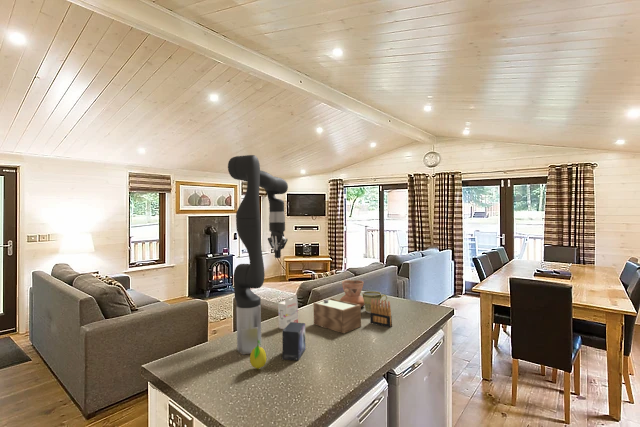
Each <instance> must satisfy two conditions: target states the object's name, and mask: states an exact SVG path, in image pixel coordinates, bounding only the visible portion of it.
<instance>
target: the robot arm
mask: <svg viewBox="0 0 640 427" xmlns="http://www.w3.org/2000/svg"><path fill="white" fill-rule="evenodd" d="M227 170H228V171H227V172H228V174H229V176H230V177H231V178H232V179H234V180H236V181H237V180H238V181H243V182H246V192H245V195H244V197H243V199H242V200H241V202H240V204H239V206H238V208H237V211H236V213H235V222H236V233H237V235H238V237H239V239H240V241H241V242H242V244H243V246H244V247H245V248H246V251H247V254H248V258H249V259H248V260H249V263H239V264H238V265H237V266H236V267H235V268H234V272H233V292H234V293H233V295H234V300H235V302H236V341H237V342H236V344H237V345H236V346H237V348H236V349H237V352H238V354H241V355H249V354H250V355H251V352H252V350H253V349H254V348H256V347H257V345H258V346H259V347H261V348H262V317H261V316H262V315H261V314H262V312H261V311H262V307H261V305H262V303H261V302H262V301H261V297H260V296H259V295H257V294H256V293H254V292H253V291H252V290H251V289H260V288H261V287H262V286H263V285H264V282H265V265H264V258H263V250H262V234H261V231H262V227H261V226H262V224H261V211H260V209H261V208H260V206H261V205H260V188H262V189H264V190H265V192H266V196H267V199H268V204H269V208H268V210H269V213H268V214H269V215H268V227H269V228H268V230H269V232H271V233H270V237H268V238H267V241H268V243H269V246H270V248H271V249H273V250H274V258H275V259H280V258H281V256H282V254H281V253H282V252H281V250H284V249H285V246H286V244H287V242H288V238H286V237H285V232H286V215H285V214H286V213H285V201H284V200H283V199H279V198H277V197H276V196H275V195H284V194H285V193H287V192H288V189H289V185H288V183H287V181H286V180H285V179H283V178H281V177H278V176H273V175H272V174H270V173H268V172H267V171H264V170H261V165H260V161H259V158H258V157H257V155H254V154H246V155H236V156H233V157H231V158H230V159H229V160H228V163H227ZM259 340H260V344H261V345H260V344H259V343H258V341H259Z"/></svg>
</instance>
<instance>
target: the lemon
mask: <svg viewBox="0 0 640 427" xmlns="http://www.w3.org/2000/svg"><path fill="white" fill-rule="evenodd" d="M258 343H259V344H260V340H259V341H258ZM260 345H261V347H259V346H258V345H257V347H256V348H254V349H253V350H252V352H251V354H250V356H249V363H250V365H251V367H253V368H255V369H256V370H260V369H261V368H263V367H264V366H265V365H266V364H267V353H266V351H265V349H264V348H263V347H262V343H261V344H260Z"/></svg>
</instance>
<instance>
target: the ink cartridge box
mask: <svg viewBox="0 0 640 427" xmlns="http://www.w3.org/2000/svg"><path fill="white" fill-rule="evenodd" d="M298 306H299V303H298V296H297V294H293V295H289V296H286V297H284V301H281V302H278V303H277V310H278V329H281V330H284V329H285V328H286V327H287V325H288V324H289V323H290V322H295V323H299V311H298V310H299V307H298Z"/></svg>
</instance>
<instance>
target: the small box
mask: <svg viewBox="0 0 640 427" xmlns="http://www.w3.org/2000/svg"><path fill="white" fill-rule="evenodd" d="M281 333H282V340H281V341H282V344H281V345H282V351H281V352H282V354H281V358H282V359H281V360H283V361H284V360H286V361H295V362H296V361H299V360H301V357H302V356H303V354H304V352H305V351H306V323H304V322H298V323H295V322H290V323H289V324H288V325H287V327H286V328H285V329H282V332H281Z"/></svg>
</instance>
